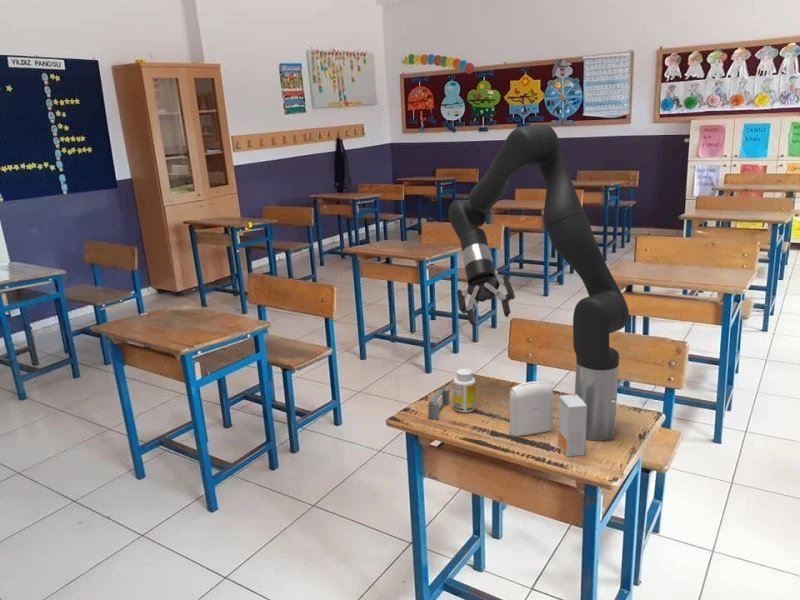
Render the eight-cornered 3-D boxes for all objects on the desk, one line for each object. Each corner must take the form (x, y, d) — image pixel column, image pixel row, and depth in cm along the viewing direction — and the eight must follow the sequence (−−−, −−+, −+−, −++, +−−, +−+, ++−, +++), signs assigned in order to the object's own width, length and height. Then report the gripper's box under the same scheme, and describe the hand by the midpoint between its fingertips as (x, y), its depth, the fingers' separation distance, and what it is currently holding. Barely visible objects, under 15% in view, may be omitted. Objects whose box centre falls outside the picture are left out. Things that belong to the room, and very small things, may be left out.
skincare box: (556, 443, 142) (558, 395, 139) (575, 442, 143) (577, 393, 139) (566, 457, 136) (568, 406, 133) (585, 455, 137) (588, 405, 134)
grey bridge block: (449, 403, 165) (449, 389, 163) (437, 419, 156) (437, 404, 154) (440, 402, 165) (440, 388, 164) (428, 418, 156) (428, 403, 155)
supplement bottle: (476, 404, 163) (476, 367, 160) (474, 414, 158) (474, 376, 155) (454, 403, 164) (454, 367, 162) (452, 412, 159) (452, 375, 156)
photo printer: (513, 438, 145) (514, 389, 142) (506, 430, 149) (507, 381, 146) (554, 432, 147) (556, 383, 144) (546, 424, 152) (548, 376, 148)
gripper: (448, 267, 164) (459, 323, 156) (500, 250, 159) (514, 307, 152) (458, 278, 170) (468, 333, 163) (508, 262, 166) (521, 317, 158)
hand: (490, 320), depth 157 cm, fingers open, 8 cm apart
